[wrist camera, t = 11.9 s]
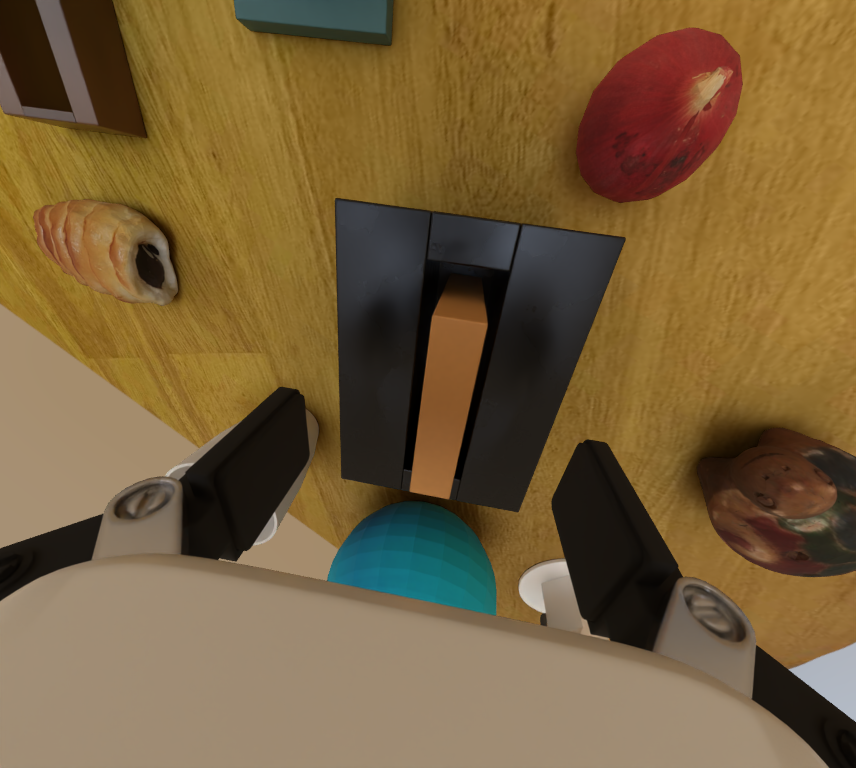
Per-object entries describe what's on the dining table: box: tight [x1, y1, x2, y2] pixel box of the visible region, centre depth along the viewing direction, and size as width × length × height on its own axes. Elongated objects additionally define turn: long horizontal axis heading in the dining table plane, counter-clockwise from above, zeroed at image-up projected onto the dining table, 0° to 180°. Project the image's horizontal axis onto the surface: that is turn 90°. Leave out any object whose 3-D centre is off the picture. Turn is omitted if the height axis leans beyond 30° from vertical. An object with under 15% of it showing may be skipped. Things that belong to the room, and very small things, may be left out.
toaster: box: [335, 198, 626, 512], centre depth 19 cm, size 15×11×10 cm
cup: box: [165, 409, 319, 546], centre depth 26 cm, size 8×8×10 cm
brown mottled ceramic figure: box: [697, 428, 856, 577], centre depth 22 cm, size 10×15×8 cm, turn 49°
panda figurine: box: [518, 559, 609, 640], centre depth 30 cm, size 12×11×15 cm
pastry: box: [33, 199, 178, 306], centre depth 22 cm, size 9×7×4 cm
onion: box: [576, 28, 743, 203], centre depth 14 cm, size 6×6×8 cm
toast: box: [410, 273, 488, 499], centre depth 17 cm, size 9×2×10 cm, turn 173°
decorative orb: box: [327, 501, 496, 616], centre depth 27 cm, size 15×15×15 cm
